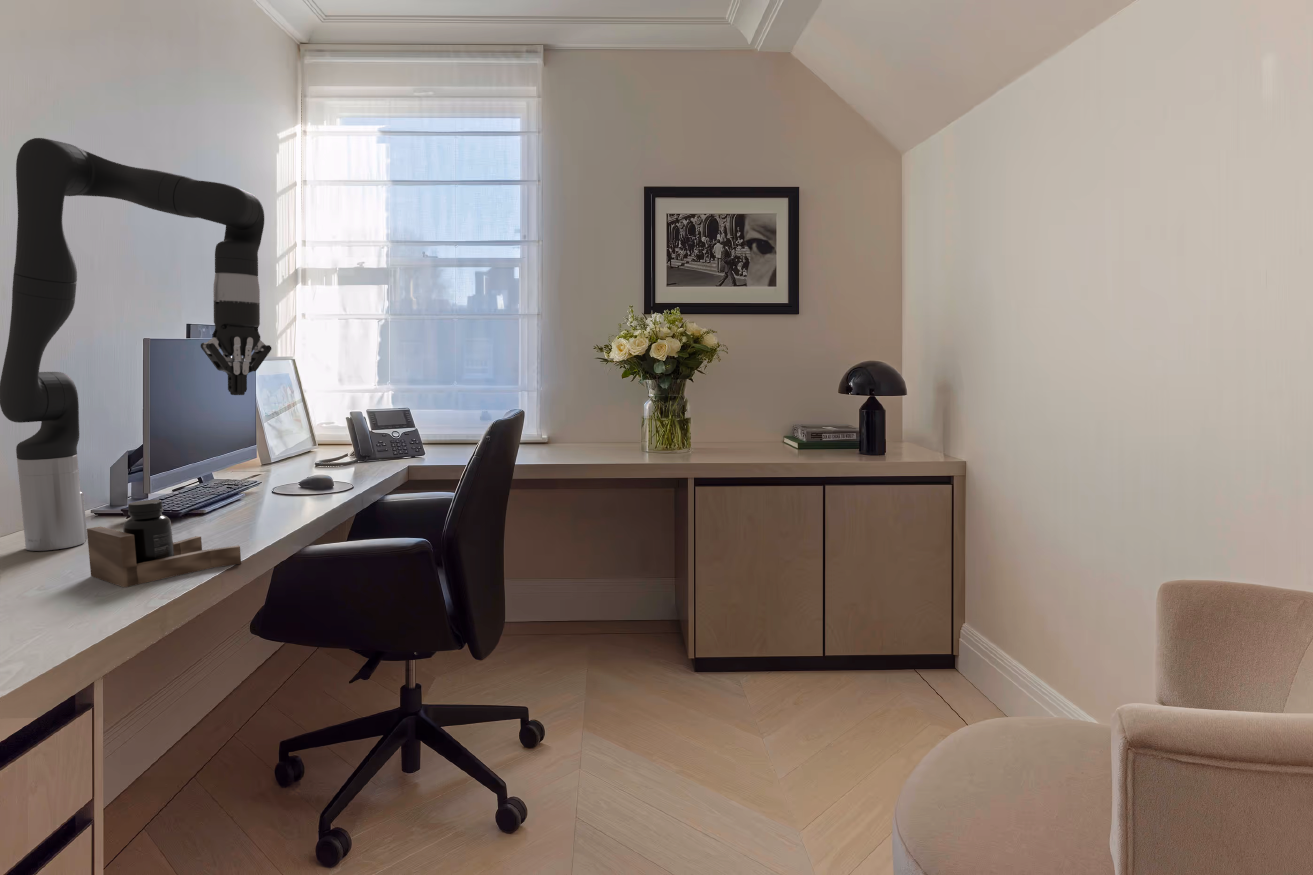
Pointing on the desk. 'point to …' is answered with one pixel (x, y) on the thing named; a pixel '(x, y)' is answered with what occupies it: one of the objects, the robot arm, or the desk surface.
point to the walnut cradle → (118, 561)
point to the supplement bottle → (149, 530)
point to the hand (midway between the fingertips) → (237, 394)
